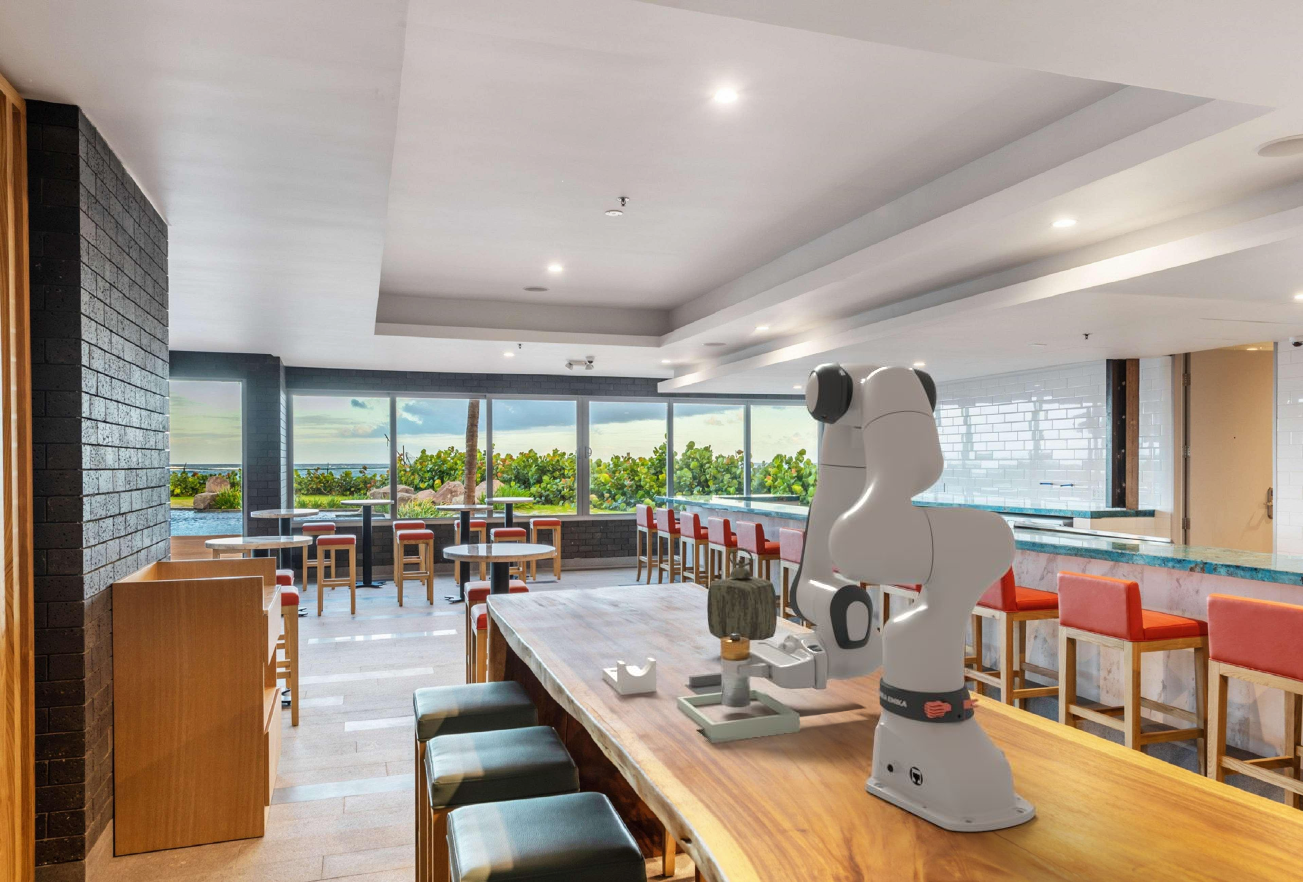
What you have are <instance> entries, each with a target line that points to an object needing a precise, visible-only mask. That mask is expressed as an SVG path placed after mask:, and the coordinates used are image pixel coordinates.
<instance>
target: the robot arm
mask: <svg viewBox="0 0 1303 882" xmlns="http://www.w3.org/2000/svg"><path fill="white" fill-rule="evenodd" d="M804 392H805V394H804V395H805V402H806V409H807V411H808V413H809V414H810V415H811V417H812V418H813V419H814V420H815V421H818V422H821V423H824V424H825V425H824V429H823V433H822V439H821V443H820V450H819V451H820V452H819V461H818V462H819V463H818V471H817V472H818V475H817V480H816V481H817V482H816V486H815V491H814V494H813V496H812V499H811V501H810V504H809V507H808V512H807V517H806V522H805V523H806V524H805V528H804V529H805V530H804V533H803V541H802V547H801V554H800V555H801V556H800V560H799V566H798V568H797V571H796V574H795V576H794V578H793V580H792V582H791V586H790V590H789V595H788V597H789V598H788V600H789V604H790V608H791V610H792V612H793V614H795V616H796V617H797V618H798V619H800V620H801V621H803V622H806V623H809V624H813V625H816V630H815V631H814V632H806V633H795V634H794V633H793V634H789V635H787V636H785V638H784V639H783V642H781V643H779V644H778V643H777V642H774V641H772V640H769V639H765V640H750V665H747V664H740V665H738V666H737V674H738V675H740V676H741V677H748V676H750V678H751V677H753V678H759V679H760V678H762V679H766V680H767V681H769V683H770V682H771V683H772V684H774V685H776V686H778V688H781V689H785V690H786V689H790V690H795V689H796V690H797V689H798V690H799V689H812V688H813V689H814V690H826V689H827V684H828V683H827V682H828V680H837V681H842V680H843V681H844V680H849V679H857V678H862V677H865V676H869V675H871V674H873V673H875V672H877V671H878V670H880V669H882V670H881V671H882V677H880V679H879V686H878V697H879V698H878V699H879V705H880V707H881V713H880V717H879V720H878V722H877V725H875V729H874V737H873V747H872V749H873V751H872V763H871V776H870V777H868V779H866V781H865V788H864V789H865V790H866V791H867V792H869V793H870V794H872V795H875V796H877V797H879V798H881V799H882V800H885V801H887V802H889V803H891V804H893V805H896V806H898V807H900V808H902V809H903V810H906V811H908V812H911V813H912V814H914V815H917V816H918V817H920V818H922V819H924V820H926V821H928V822H931V823H932V824H935V825H937V826H939V827H941V828H943V829H945V830H948V831H955V832H983V831H993V830H999V829H1006V828H1009V827H1013V826H1017V825H1021V824H1024V823H1027V822H1028V821H1030V820H1032V819H1033V818H1034V816H1035V815H1036V809H1035V806H1034V805H1033V804H1032V803H1030V802H1029V801H1027V800H1026V799H1025V798H1024V797H1022V796H1021V795H1019V793H1017V792H1016V791H1015V787H1014V785H1015V784H1014V776H1013V772H1012V767H1011V764H1010V762H1009V761H1008V759H1007V758H1006V753H1005V751H1004V750H1003V749H1002V748H1001V747H997V746H996V744H995V743H994V742H993V740H992V739H991V738H990V737H989V735H988V733H986V731H985V730H984V728H983V727H982V726H981V724H980V723H979V722H978V721H977V720H976V717H975V716H974V715H975V710H974V709H976V708H979V707H980V706H979V704H978V705H977V704H976V705H973V704H975V703H977V702H979V699H978V698H974V699H973V698H971V693H970V691H969V689H968V686H967V684H966V682H965V650H966V649H965V648H966V635H967V629H968V626H969V622H970V619H971V617H972V614H973V612H974V610H975V607H976V605H977V604H978V603H979V601H980V599H981V598H982V597H983V595H984V594H985V593H986V592H987V590H988V589H989V588H991V586H993V585H994V584H995V583H996V582H997V581H999V580H1000V579H1002V578H1003V577H1004V576H1005V575H1006V574H1007V573H1008V572H1009V570H1010V569H1011V567H1012V566H1013V562H1014V561H1015V557H1016V548H1017V547H1016V539H1015V535H1014V532H1013V529H1012V528H1011V526H1010V525H1009V523H1008V522H1007V521H1006V520H1005V518H1004V517H1003V516H1002V515H1001V514H1000V513H998V512H996V511H991V510H986V509H981V508H973V507H970V506H969V507H968V506H918V505H917V506H915V504H913V501H912V498H914V497H915V496H918V495H919V494H920V495H921V494H922V493H924V492H925V491H927V490H928V489H930V488H931V487H933V486H934V485H935V484H936V483H937V482H938V481H939V480H940V478H941V477H942V474H943V471H944V467H945V461H944V457H943V452H942V448H941V443H940V437H939V433H938V428H937V424H936V421H935V419H936V418H935V416H934V413H935V410H936V406H937V399H938V398H937V395H938V394H937V388H936V384H935V382H934V380H933V378H932V376H931V375H930V373H928V372H925V371H924V370H920V369H918V368H917V369H916V368H912V367H904V366H901V365H885V364H875V363H874V362H873V363H872V362H871V363H869V362H848V363H847V362H846V363H839V362H837V361H836V362H834V361H833V362H827V363H822V364H818V365H817V366H816V367H815V368H814V369H813V370H811V372H810V374H809V377H808V379H807V383H806V385H805V391H804ZM833 567H835V570H836V571H837V572H838V573H839V575H840V576H841V577H843V578H844V579H846V580H844V579H840V578H837V577H836V575H835V572H834V569H833ZM847 580H848V581H847ZM849 580H850V581H854V582H855V581H856V582H860V583H866V584H870V585H877V586H881V585H882V586H883V585H884V586H886V585H890V586H891V585H895V586H896V585H921V587H920V588H921V589H920V591H919V592H920V593H919V594H918V596H917V598H916V599H915V600H914V601H913V602H912V603H911V604H910V605H908V606H907V607H905V608H903V609H901V610H900V609H899V610H898V611H897V612H896V613H893V614H892V615H891V616H890V617H889V618H888V620H886V622H885V623H884V626H883V628H882V631H881V632H880V631H879V630H878V628H877V626H876V625H877V624H876V623H875V622H876V621H875V620H874V616H873V615H874V606H873V600H872V597H871V596H870V594H869V592H868V591H867V590H866V589H865V588H863V587H861V586H860V585H857V584H855V583H852V582H849ZM881 667H882V668H881Z"/></svg>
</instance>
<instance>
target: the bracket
mask: <svg viewBox="0 0 1303 882" xmlns="http://www.w3.org/2000/svg"><path fill="white" fill-rule="evenodd" d="M602 678H603V680H605V681H606V683H608V684H609V685H610V686H611V687H612V688H613V689H614V690H615V691H616V692H617V693H619V694H620V695H621V696H623V695H630V694H631V695H632V694H642V693H650V692H651V693H652V692H657V660H656V659H654V658H653V657H647V658H646V663H645V665H644V666H643V668H641V669H640V668H639V666H637V665H628V666H626V663H625V662H624V661H622V660H616V667H610V668H602Z"/></svg>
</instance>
